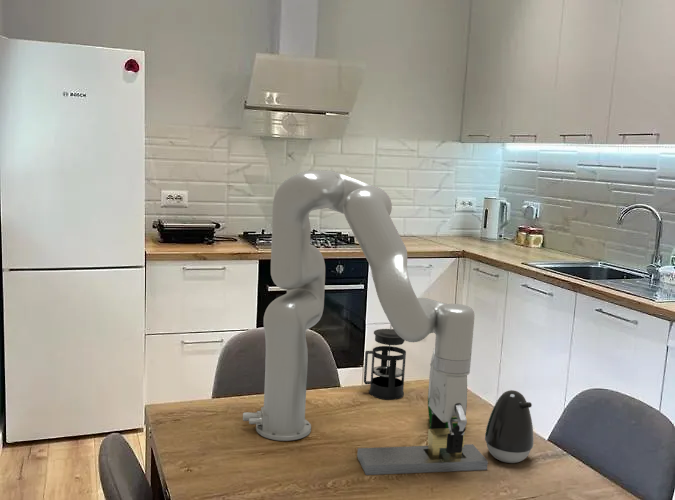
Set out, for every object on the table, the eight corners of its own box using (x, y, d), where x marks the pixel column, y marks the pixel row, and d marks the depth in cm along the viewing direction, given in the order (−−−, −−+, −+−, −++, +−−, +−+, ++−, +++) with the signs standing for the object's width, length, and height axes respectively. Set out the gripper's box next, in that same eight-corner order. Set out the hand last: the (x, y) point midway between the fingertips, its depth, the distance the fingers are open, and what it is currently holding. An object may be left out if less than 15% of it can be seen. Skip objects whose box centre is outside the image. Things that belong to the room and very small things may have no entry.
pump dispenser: (505, 472, 140) (512, 402, 138) (473, 451, 149) (479, 385, 147) (542, 464, 145) (549, 396, 143) (509, 444, 154) (515, 380, 152)
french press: (400, 387, 188) (406, 306, 185) (410, 399, 179) (416, 315, 176) (359, 387, 186) (364, 306, 183) (367, 400, 177) (372, 314, 173)
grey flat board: (365, 475, 136) (366, 465, 135) (357, 457, 143) (357, 448, 143) (486, 469, 141) (487, 460, 140) (472, 452, 149) (472, 444, 148)
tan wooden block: (430, 466, 141) (433, 434, 140) (425, 459, 144) (428, 428, 143) (462, 465, 142) (464, 433, 141) (456, 458, 145) (459, 427, 144)
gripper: (421, 351, 148) (416, 426, 150) (449, 378, 131) (442, 461, 133) (454, 351, 149) (448, 425, 152) (485, 377, 132) (478, 460, 135)
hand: (445, 442), depth 142 cm, fingers open, 9 cm apart
